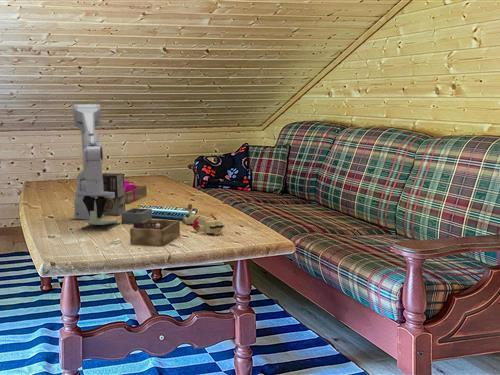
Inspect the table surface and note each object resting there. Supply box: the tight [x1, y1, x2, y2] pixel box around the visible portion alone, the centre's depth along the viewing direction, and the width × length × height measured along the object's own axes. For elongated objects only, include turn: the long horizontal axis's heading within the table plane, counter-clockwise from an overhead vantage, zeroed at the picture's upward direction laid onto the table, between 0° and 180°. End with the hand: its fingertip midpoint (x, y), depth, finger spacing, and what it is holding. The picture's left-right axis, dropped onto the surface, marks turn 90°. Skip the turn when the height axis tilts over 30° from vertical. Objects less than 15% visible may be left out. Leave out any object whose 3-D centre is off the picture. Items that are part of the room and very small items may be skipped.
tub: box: [120, 207, 153, 225], centre depth 234 cm, size 8×10×4 cm
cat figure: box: [181, 203, 226, 235], centre depth 220 cm, size 10×9×25 cm
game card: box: [132, 223, 161, 230], centre depth 202 cm, size 7×5×9 cm
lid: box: [81, 211, 119, 225], centre depth 224 cm, size 9×11×5 cm
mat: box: [81, 222, 122, 231], centre depth 225 cm, size 10×11×1 cm
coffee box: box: [102, 172, 126, 216], centre depth 248 cm, size 9×6×16 cm
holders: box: [125, 184, 181, 247], centre depth 244 cm, size 21×104×5 cm, turn 17°
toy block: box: [124, 179, 136, 202], centre depth 281 cm, size 15×6×8 cm, turn 22°
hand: (95, 217), depth 220 cm, fingers closed on lid, 2 cm apart
